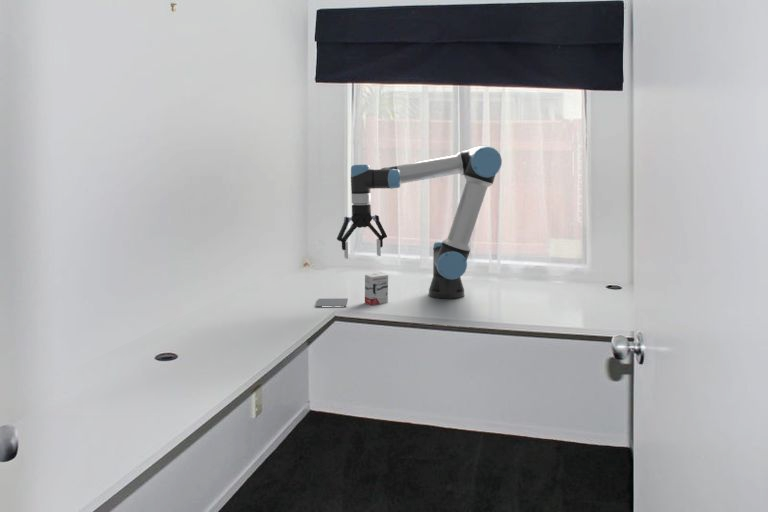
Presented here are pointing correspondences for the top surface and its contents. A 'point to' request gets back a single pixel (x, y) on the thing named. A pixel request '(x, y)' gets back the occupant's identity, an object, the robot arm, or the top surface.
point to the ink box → (376, 288)
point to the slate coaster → (332, 302)
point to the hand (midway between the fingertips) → (362, 256)
